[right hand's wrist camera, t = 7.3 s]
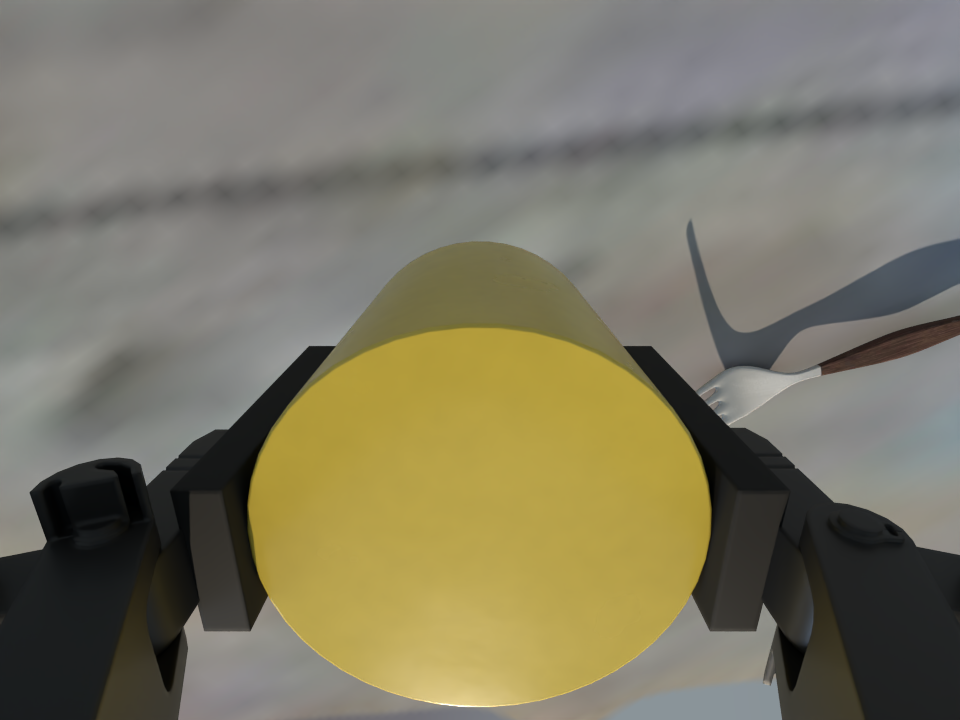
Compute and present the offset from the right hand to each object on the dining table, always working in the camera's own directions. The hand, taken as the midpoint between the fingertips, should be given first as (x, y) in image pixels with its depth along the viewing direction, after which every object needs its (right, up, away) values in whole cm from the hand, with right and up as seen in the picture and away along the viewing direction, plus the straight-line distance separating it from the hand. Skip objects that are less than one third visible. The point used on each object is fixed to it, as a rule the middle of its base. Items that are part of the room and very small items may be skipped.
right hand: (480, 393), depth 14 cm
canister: (0, +1, +2) cm, 3 cm away
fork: (+16, +1, +9) cm, 18 cm away
